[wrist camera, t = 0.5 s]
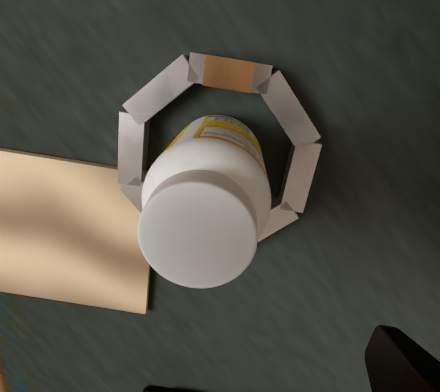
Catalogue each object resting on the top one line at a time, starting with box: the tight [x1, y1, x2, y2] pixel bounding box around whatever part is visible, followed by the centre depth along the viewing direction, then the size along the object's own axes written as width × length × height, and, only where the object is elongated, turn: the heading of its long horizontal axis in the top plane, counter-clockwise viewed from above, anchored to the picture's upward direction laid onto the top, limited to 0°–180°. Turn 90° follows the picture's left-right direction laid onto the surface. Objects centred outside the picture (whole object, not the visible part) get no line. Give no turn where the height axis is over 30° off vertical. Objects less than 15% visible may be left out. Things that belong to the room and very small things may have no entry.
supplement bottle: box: [137, 115, 271, 288], centre depth 15 cm, size 5×5×10 cm
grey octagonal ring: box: [117, 52, 322, 242], centre depth 18 cm, size 11×11×2 cm
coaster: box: [0, 148, 151, 314], centre depth 21 cm, size 11×11×1 cm
